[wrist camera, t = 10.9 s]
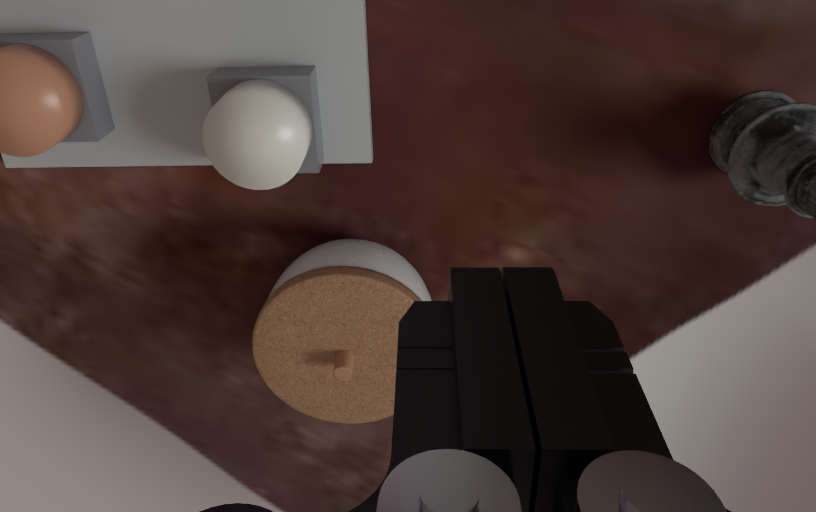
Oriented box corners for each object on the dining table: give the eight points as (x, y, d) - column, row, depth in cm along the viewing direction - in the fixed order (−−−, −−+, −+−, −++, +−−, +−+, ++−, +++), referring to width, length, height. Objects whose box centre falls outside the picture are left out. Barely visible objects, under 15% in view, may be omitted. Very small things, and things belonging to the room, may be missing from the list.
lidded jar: (269, 210, 41) (231, 290, 33) (438, 212, 41) (442, 292, 32) (285, 346, 46) (255, 443, 38) (435, 347, 46) (438, 446, 38)
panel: (-107, -195, 31) (-160, -204, 28) (354, -209, 30) (347, -219, 27) (15, 161, 40) (-16, 181, 37) (373, 156, 39) (369, 177, 36)
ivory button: (219, 69, 35) (193, 92, 31) (313, 68, 35) (299, 90, 31) (234, 159, 38) (211, 190, 34) (322, 157, 38) (310, 189, 34)
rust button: (-8, 36, 35) (-64, 54, 31) (87, 34, 35) (43, 52, 31) (23, 129, 37) (-25, 157, 33) (111, 127, 37) (74, 156, 33)
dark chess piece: (766, 195, 40) (889, 303, 29) (683, 161, 39) (779, 261, 28) (830, 107, 37) (990, 192, 26) (742, 69, 36) (873, 141, 25)
